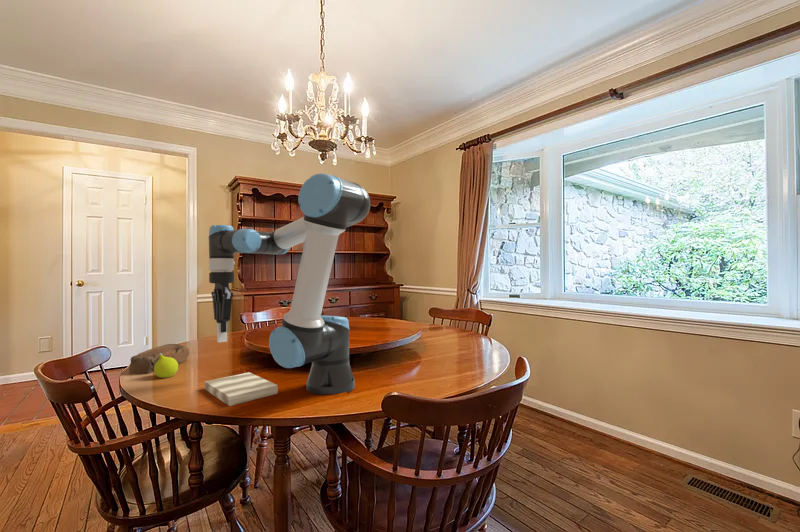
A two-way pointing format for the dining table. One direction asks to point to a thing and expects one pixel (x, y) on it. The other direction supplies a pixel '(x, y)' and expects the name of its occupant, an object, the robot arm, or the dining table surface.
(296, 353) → the robot arm
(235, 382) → the board
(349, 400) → the dining table surface
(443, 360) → the dining table surface
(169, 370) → the ornament
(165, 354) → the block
